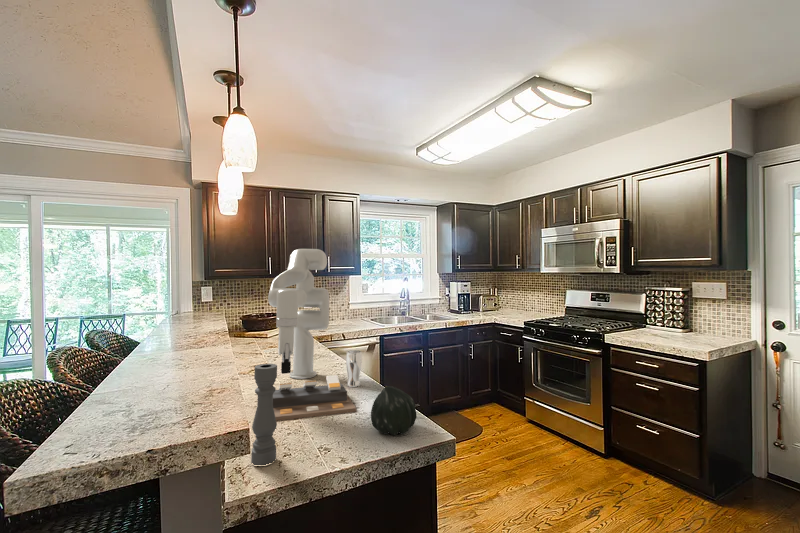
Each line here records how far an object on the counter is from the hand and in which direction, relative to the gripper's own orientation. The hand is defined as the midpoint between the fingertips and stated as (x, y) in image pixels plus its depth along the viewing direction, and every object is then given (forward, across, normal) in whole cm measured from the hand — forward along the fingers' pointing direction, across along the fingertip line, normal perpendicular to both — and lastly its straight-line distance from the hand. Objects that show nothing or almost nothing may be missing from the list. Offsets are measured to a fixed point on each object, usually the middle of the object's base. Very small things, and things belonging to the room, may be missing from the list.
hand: (285, 372), depth 135 cm
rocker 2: (+6, -3, +9) cm, 11 cm away
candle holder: (+14, +38, -7) cm, 41 cm away
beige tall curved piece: (+13, -20, +30) cm, 39 cm away
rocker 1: (+6, -3, 0) cm, 7 cm away
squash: (+13, +30, +32) cm, 46 cm away
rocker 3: (+6, -3, +18) cm, 19 cm away
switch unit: (+13, 0, +9) cm, 16 cm away
